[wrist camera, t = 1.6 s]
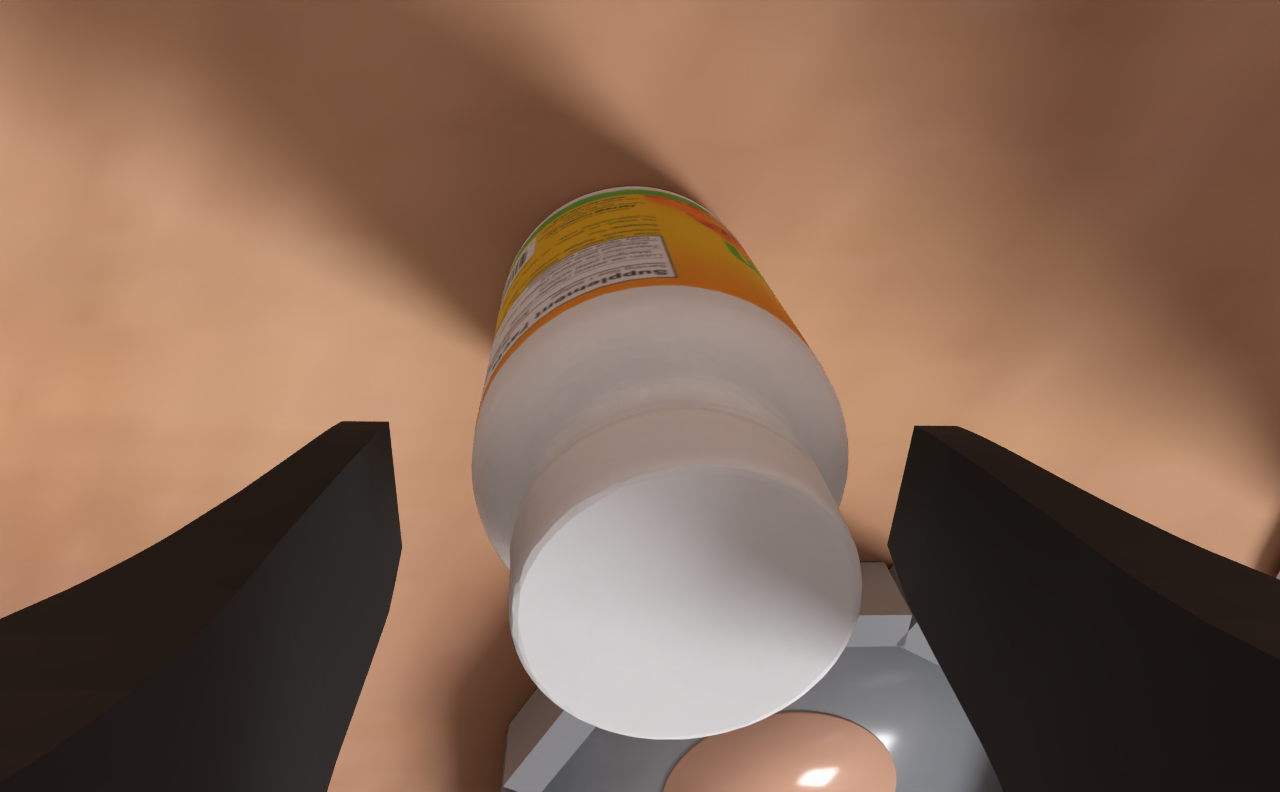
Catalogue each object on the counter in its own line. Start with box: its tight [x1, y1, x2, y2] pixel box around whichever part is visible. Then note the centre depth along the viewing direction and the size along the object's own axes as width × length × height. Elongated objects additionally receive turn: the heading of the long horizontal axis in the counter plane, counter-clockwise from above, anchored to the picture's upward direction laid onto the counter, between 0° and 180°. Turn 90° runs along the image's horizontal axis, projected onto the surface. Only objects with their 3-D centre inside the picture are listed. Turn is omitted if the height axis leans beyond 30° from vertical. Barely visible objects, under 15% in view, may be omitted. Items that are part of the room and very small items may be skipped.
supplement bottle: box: [472, 186, 863, 739], centre depth 13 cm, size 5×5×10 cm
